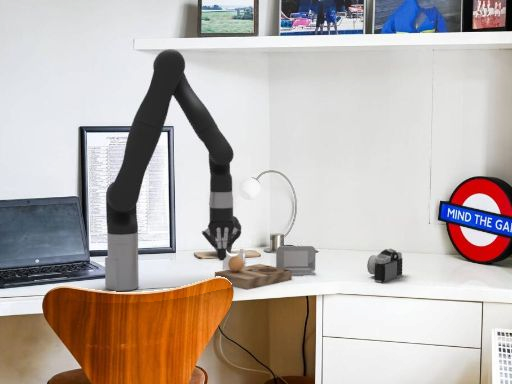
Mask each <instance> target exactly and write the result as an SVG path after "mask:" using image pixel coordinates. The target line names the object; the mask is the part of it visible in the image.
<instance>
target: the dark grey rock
mask: <svg viewBox="0 0 512 384" xmlns="http://www.w3.org/2000/svg"><path fill="white" fill-rule="evenodd" d="M233 223H234V225H235V228H236V229H238V230H240V231H241V232H242V225H241V223H240V221H239V219H238V217H236V216H235V215H233ZM209 232H210V235H209V237H210V238H211V239H212V240H213V241H214V243H216V238H215V236H214V235H213V234H212V233H211V231H209ZM232 235H233V231H232V232H231V234H230V235H229V236H228V239H227V242H228V241H229V239H230V238H231V237H232ZM240 237H241V234H240V235H239V237H238V238H237V239H236V240H238V239H239V238H240ZM221 248H222V237H221ZM232 248H233V245H232V246H229V247H227V248H226V250H227V252H228V253H232ZM213 249H214V250H215V251H216V252H217V248H216V247H213ZM220 261H221V262H223V260H220Z"/></svg>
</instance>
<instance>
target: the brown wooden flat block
mask: <svg viewBox="0 0 512 384" xmlns="http://www.w3.org/2000/svg"><path fill="white" fill-rule="evenodd" d="M216 276H221V277H225V278H227V279H228V280H229V281H230V282H231V283H232V285H233V286H232V287H236V288H241V289H245V290H250V289H255V288H258V287H264V286H269V285H273V284H278V283H283V282H286V281H291V280H292V279H293V278H292V277H293V276H292V270H287V269H282V268H277V267H276V266H272V265H266V264H261V263H257V264H253V265H252V264H251V265H246V266H243V268H242V269H241V270H240V271H238V272H234V271H232V270H230V269H223V270H220V271H214V278H215V277H216Z"/></svg>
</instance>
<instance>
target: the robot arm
mask: <svg viewBox="0 0 512 384" xmlns="http://www.w3.org/2000/svg"><path fill="white" fill-rule="evenodd" d="M152 66H153V68H152V69H153V72H152V77H151V80H150V85H149V87H148V90H147V91H146V93H145V96H144V98H143V100H142V102H141V103H140V105H139V107H138V109H137V110H136V113H135V115H134V118H133V120H132V124H131V126H130V128H129V132H128V135H127V138H126V143H125V147H124V153H123V154H124V155H123V159H122V163H121V166H120V168H119V170H118V173H117V175H116V177H115V179H114V181H112V182H111V183H110V184H109V185H108V187H107V188H106V193H105V208H106V209H105V211H106V212H105V213H106V214H105V215H106V216H105V217H106V227H107V228H106V230H107V232H106V233H107V234H106V236H107V239H106V240H107V241H106V242H107V256H106V257H105V258H104V268H105V269H104V271H105V272H104V275H105V278H104V279H105V281H104V282H105V286H104V287H105V289H106V290H107V289H108V290H111V291H114V292H121V291H124V292H125V291H126V292H127V291H133V290H135V289H138V288H139V285H140V284H139V282H140V281H139V280H140V279H139V225H138V216H137V215H138V214H137V204H138V202H139V197H140V193H141V188H142V186H143V181H144V177H145V173H146V171H147V169H148V166H149V164H150V162H151V160H152V158H153V155H154V153H155V151H156V147H157V146H158V144H159V140H160V138H161V136H162V132H163V129H164V126H165V124H166V123H165V122H166V120H167V116H168V112H169V109H170V106H171V105H170V104H171V101H172V97H173V98H174V99H175V101H176V102H177V103H178V105H179V107H180V109H181V110H182V112H183V114H184V115H185V117H186V119H187V121H188V123H189V124H190V126H191V127H192V129H193V131H194V133H195V134H196V137H197V138H198V139H199V141H201V142H202V143H203V144H204V146H205V148H206V150H207V151H208V166H209V174H210V179H209V180H210V181H209V188H210V189H209V191H210V192H209V201H208V206H209V210H208V211H209V222H208V225H207V228H206V229H204V230H202V231H201V234H202V236H203V237H204V238H205V239H206V241H207V242H208V244H210V245H211V247H213V248H214V247H216V248H217V251H216V258H217V259H218V260H219V261H221V260H224V258H226V248H227V247H229V246H232V247H233V245H234V243H235V242H236V241H237V240H238V239H239V238H240V237H239V235H240V236H241V234H242V230H241V231H240V230H238V229H236V228H235V225H234V223H233V216H234V195H233V176H232V174H231V163H232V161H233V159H234V154H235V153H234V150H233V147H232V146H231V144H230V143H229V141H228V139H227V138H226V137H225V136H224V134H223V133H222V132H221V130H220V129H219V127H218V125H217V122H216V121H215V118H213V116H212V115H211V113H210V110H209V109H208V108H207V106H206V105H205V104H204V103H203V101H202V100H201V99H200V98H199V97H198V95H197V94H196V92H195V90H193V87H192V86H191V85H190V83H189V80H188V79H187V76H186V73H185V69H186V61H185V58H184V56H183V54H182V53H181V52H180V51H179V50H176V49H172V48H171V49H170V48H169V49H164V50H163V51H161V52H159V53H158V54H157V56H156V57H155V59H154V61H153V65H152ZM209 231H211V233H212V234H213V235H214V236H215V238H216V243H214V241H213V240H212V239H211V238H210V237H209V235H210V232H209ZM232 231H233V235H232V237H231V238H230V239H229V241H228V242H227V239H228V236H229V235H230V234H231V232H232ZM221 237H222V248H221ZM238 237H239V238H238ZM237 238H238V239H237Z"/></svg>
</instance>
